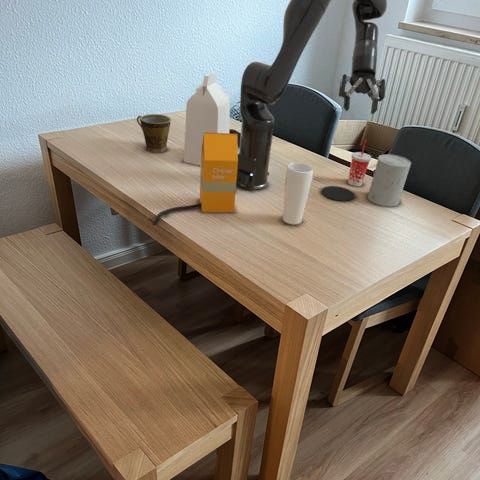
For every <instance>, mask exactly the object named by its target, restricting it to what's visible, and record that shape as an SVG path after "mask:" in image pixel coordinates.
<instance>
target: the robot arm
mask: <svg viewBox="0 0 480 480" xmlns="http://www.w3.org/2000/svg"><path fill="white" fill-rule="evenodd" d="M331 1H332V0H290V1H289V3H288V4H287V6H286V9H285V11H284V15H283V21H282V22H283V23H282V43H281V46H280V49H279V51H278V53H277V55H276V57H275V59H274V60H273V62H272V63H271V65H270V64H267V63H263V62H261V61H252V62H250V63H249V64H248V65H246V67H245V69H244V70H243V72H242V73H243V74H242V76H241V81H240V82H241V83H240V100H239V114H240V118H241V125H240V128H241V129H240V133H241V137H240V147H239V149H238V167H237V179H236V186H237V187H241V188H243V189H245V190H248V191H253V190H262V189H264V188H266V187H267V185H268V177H269V175H270V172H269V166H270V158H271V150H272V143H273V136H274V135H273V134H274V128H275V118H274V116H273V114H272V113H271V112H270V111H269V110H268V107H267V106H273V105H274V104H276V103H278V101H279V100H280V99H281V98H282V97H283V95H284V93H285V91H286V90H287V87H288V85H289V83H290V81H291V78H292V76H293V73H294V71H295V69H296V67H297V65H298V63H299V61H300V59H301V57H302V54H303V52H304V50H305V48H306V46H307V45H308V43H309V41H310V39H311V37H312V36H313V34H314V32H315V31H316V29H317V27H318V26H319V24H320V22H321V20H322V19H323V17H324V15H325V13H326V12H327V9H328V7H329V5H330V3H331ZM387 1H388V0H353V1H352V4H351V14H352V18H353V22H354V29H355V30H354V34H355V35H354V47H353V50H352V51H353V52H352V56H351V60H352V61H351V71H350V76H348V75H347V74H346V73H345V74H342V76H341V77H340V82H339V89H338V97H340V98H343V109H344V111H345V112H348V111H349V110H350V103H351V95H352V94H353V93H354V92H355V93H356V94H362V95H366V94H367V96H368V97H369V98H370V99H371V108H370V114H371V115H374V114H376V112H377V111H378V109H379V102H382V101H383V100H384V99H385V98H386V79H385V78H381V80H379V79H377V78H376V73H377V62H378V41H379V27H378V25H377V24H376V23H375V22H370V21H371V20H377V19H380V18H381V17H383V16H384V15H385V13H386V11H387V9H388V8H387V7H388V2H387ZM348 83H349V84H350V88H349V90H348V91H345V90H346V85H347V84H348ZM375 85H376V87H375ZM376 88H377V89H378V93H377V89H376ZM196 208H201V203H200V202H199V203H195V204H189V205H183V206H182V205H181V206H176V207H171V208H168V209H164V210H163V211H160V212H159V213H158V214H157V215H156V217H155V218H154V220H153V222H152V225H153V226H156V225H158V223H159V220H160V219H161V218H162V216H164V215H167V214H169V213H173V212H176V211H183V210H184V211H185V210H193V209H196Z"/></svg>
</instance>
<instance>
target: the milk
mask: <svg viewBox="0 0 480 480" xmlns="http://www.w3.org/2000/svg"><path fill="white" fill-rule="evenodd" d="M185 107H186V108H185V125H184V126H185V127H184V145H183V147H184V148H183V163H187V164H192V165H197V166H201V149H202V143H203V136H204V133H229V129H230V126H231V125H230V124H231V123H230V121H231V119H230V118H231V101H230V97H229V96H228V95H227V93H226V92H225V91H224V89H223V88H222V87H221V86H220V85H219V83H218V82H217V72H213V71H211V72H209V73H207V74H205V75H204V76H203V81H202V83H201V84H200V85H199V86H197V88H195V92H194V93H193V94H192V95H191V96H190V97H188V100H187V101H186V106H185Z"/></svg>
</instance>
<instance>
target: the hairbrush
mask: <svg viewBox="0 0 480 480" xmlns="http://www.w3.org/2000/svg"><path fill="white" fill-rule="evenodd" d="M229 133H230V134H237V141H238V148H240V137H241V132H239V130H236V129H233V128H229Z"/></svg>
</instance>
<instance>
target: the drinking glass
mask: <svg viewBox="0 0 480 480" xmlns="http://www.w3.org/2000/svg"><path fill="white" fill-rule="evenodd" d="M313 178H314V167H313V166H312V165H310V164H308V163H305V162H291V163H289V164H288V165H287V169H286V174H285V180H284V195H283V211H282V216H281V217H282V221H283V222H284V223H285V224H288V225H293V226H294V225H299V224H301V223H302V221H303V216H304V212H305V209H306V205H307V201H308V198H309V194H310V190H311V187H312V182H313Z"/></svg>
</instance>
